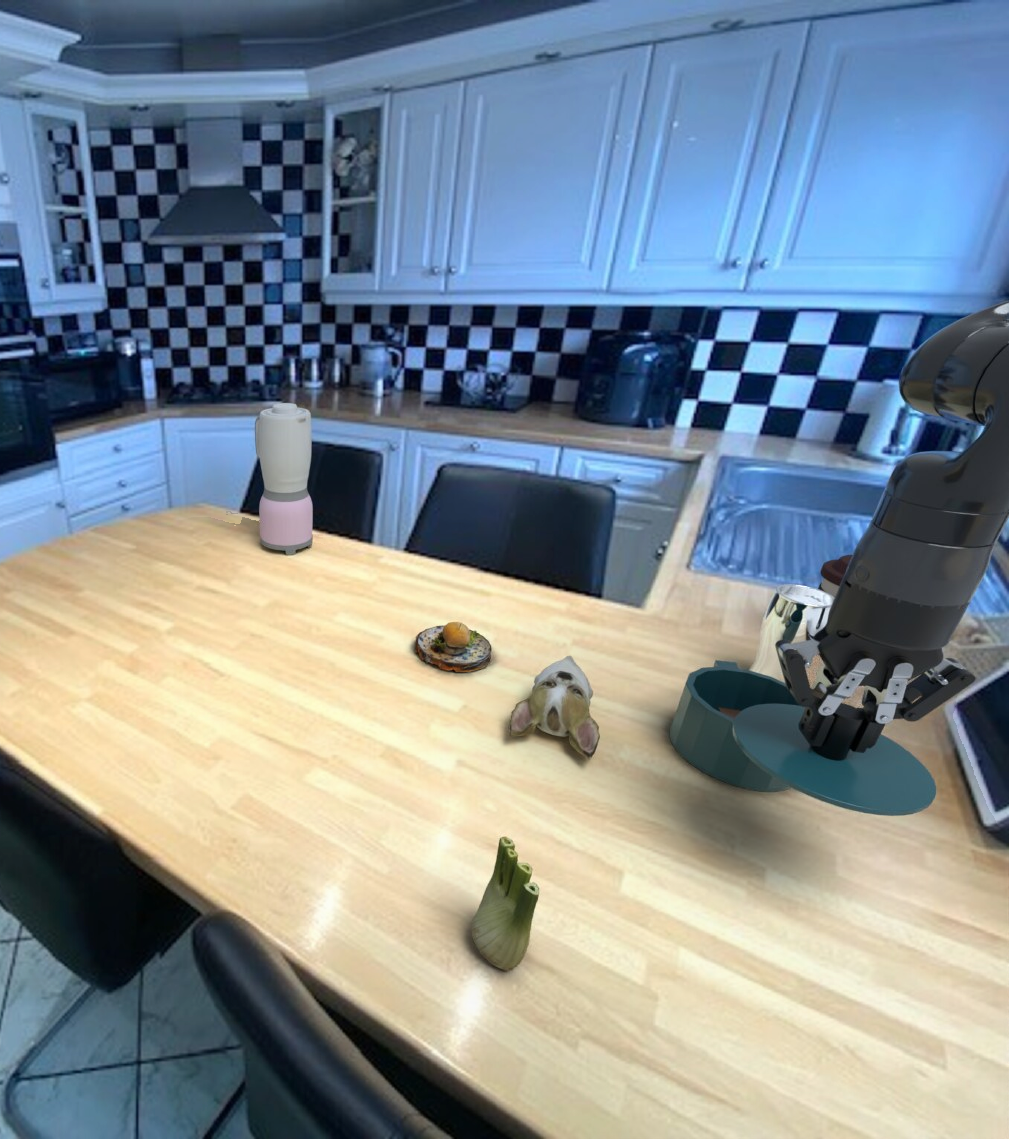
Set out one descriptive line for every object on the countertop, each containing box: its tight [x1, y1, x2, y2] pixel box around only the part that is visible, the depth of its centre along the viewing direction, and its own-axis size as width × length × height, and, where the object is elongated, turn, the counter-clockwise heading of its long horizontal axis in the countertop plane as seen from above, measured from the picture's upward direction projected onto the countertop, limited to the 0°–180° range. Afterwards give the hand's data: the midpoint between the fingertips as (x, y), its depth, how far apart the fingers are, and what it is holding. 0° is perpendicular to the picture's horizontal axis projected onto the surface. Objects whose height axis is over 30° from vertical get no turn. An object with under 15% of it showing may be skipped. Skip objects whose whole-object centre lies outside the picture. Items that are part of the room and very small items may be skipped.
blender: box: [254, 402, 314, 556], centre depth 139 cm, size 16×12×32 cm
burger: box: [414, 621, 493, 673], centre depth 101 cm, size 12×12×8 cm
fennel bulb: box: [470, 836, 540, 972], centre depth 55 cm, size 6×5×12 cm
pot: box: [669, 659, 800, 793], centre depth 78 cm, size 14×19×8 cm
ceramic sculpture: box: [508, 655, 601, 760], centre depth 84 cm, size 11×9×15 cm
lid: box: [732, 702, 937, 817], centre depth 58 cm, size 15×15×6 cm
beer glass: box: [748, 583, 835, 683], centre depth 89 cm, size 7×7×15 cm
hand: (831, 742), depth 59 cm, fingers closed on lid, 2 cm apart
